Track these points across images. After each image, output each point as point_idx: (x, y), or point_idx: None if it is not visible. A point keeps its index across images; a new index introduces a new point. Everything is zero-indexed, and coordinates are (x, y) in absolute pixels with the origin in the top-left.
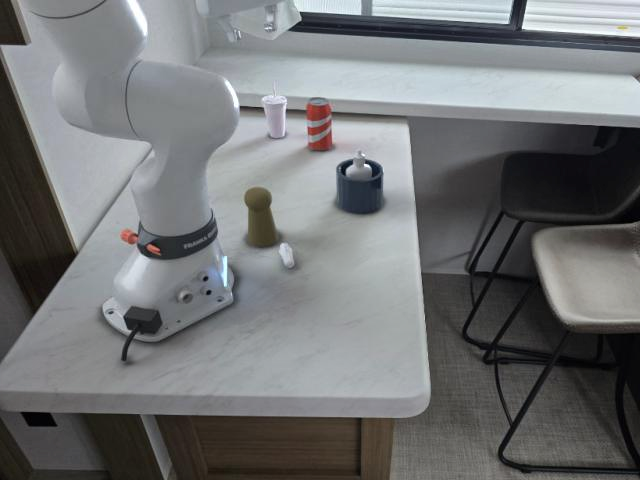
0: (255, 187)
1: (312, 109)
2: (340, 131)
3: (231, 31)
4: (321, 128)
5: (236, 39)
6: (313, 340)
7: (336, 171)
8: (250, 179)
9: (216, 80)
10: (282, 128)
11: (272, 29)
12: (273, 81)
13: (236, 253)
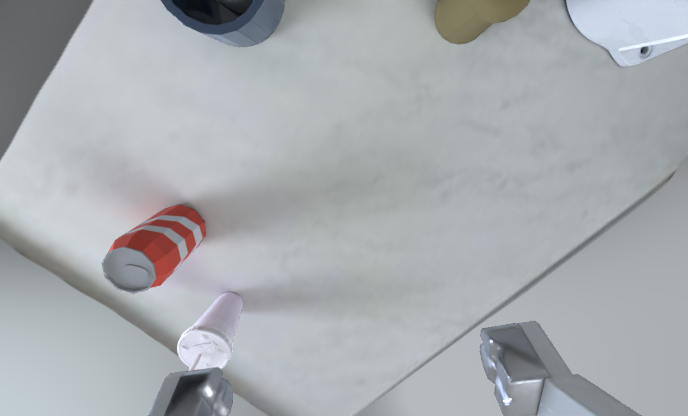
0: (500, 1)
1: (159, 257)
2: None
3: (577, 381)
4: (167, 224)
5: (525, 327)
6: None
7: (263, 1)
8: (357, 202)
9: None
10: (219, 300)
11: (200, 376)
12: None
13: None
